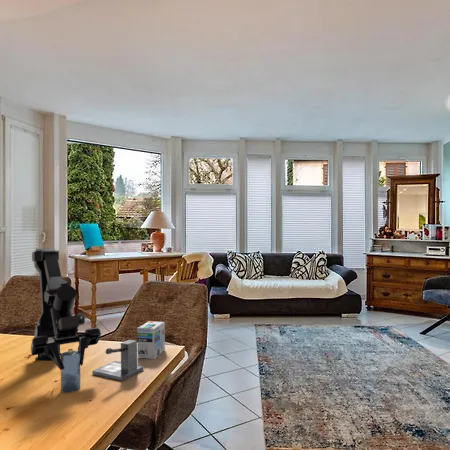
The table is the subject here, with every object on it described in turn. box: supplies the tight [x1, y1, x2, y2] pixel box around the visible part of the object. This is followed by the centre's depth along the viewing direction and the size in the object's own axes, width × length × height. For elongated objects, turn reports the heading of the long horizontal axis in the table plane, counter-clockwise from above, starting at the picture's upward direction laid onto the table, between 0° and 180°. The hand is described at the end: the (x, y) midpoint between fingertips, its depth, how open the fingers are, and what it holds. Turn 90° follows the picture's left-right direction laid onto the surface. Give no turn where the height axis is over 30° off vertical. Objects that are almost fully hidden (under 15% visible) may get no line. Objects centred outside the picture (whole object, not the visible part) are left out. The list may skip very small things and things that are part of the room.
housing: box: [60, 348, 81, 394], centre depth 111 cm, size 5×5×11 cm
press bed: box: [92, 339, 144, 382], centre depth 121 cm, size 12×14×11 cm
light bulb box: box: [137, 320, 166, 360], centre depth 141 cm, size 11×7×11 cm, turn 168°
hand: (71, 366), depth 110 cm, fingers closed on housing, 5 cm apart
